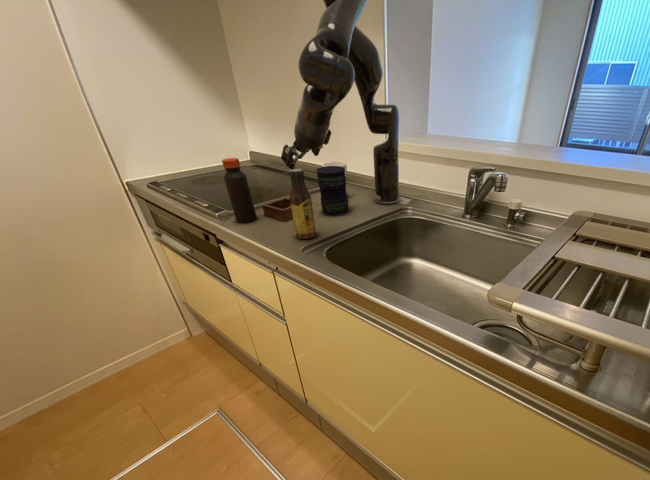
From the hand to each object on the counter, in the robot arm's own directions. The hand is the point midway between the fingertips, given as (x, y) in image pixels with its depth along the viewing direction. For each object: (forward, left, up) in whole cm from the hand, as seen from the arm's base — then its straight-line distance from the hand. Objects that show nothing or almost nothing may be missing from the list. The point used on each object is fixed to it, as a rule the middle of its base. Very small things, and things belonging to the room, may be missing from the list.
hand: (302, 159), depth 96 cm
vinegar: (-4, -30, -22) cm, 37 cm away
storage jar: (-21, -4, -22) cm, 31 cm away
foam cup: (-36, -11, -22) cm, 44 cm away
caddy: (-13, -20, -22) cm, 32 cm away
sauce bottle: (+2, -2, -23) cm, 23 cm away
